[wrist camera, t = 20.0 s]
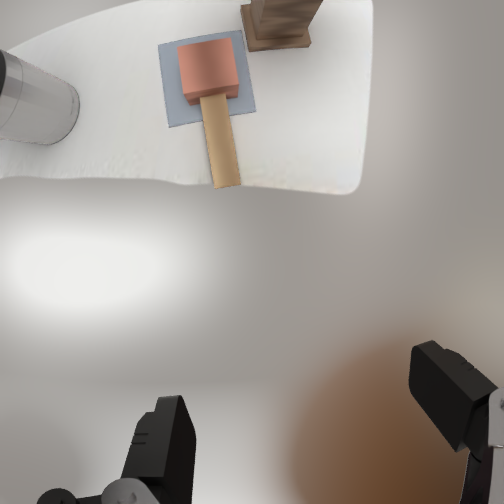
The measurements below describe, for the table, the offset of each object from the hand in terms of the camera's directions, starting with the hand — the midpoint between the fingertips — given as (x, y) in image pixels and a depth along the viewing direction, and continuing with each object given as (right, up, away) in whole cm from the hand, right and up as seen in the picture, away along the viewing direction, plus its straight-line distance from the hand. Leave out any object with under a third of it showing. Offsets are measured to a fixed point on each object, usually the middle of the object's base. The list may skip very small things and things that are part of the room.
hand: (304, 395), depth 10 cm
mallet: (-6, +21, +28) cm, 35 cm away
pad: (-8, +27, +26) cm, 38 cm away
